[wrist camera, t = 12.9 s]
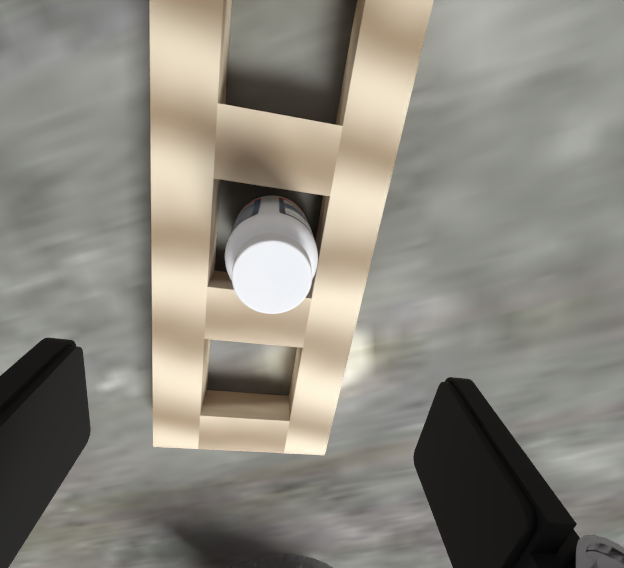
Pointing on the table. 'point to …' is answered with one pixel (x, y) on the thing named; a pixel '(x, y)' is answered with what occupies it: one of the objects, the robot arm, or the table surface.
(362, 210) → the wooden rack
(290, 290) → the pill bottle
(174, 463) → the table surface
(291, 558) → the tankard
